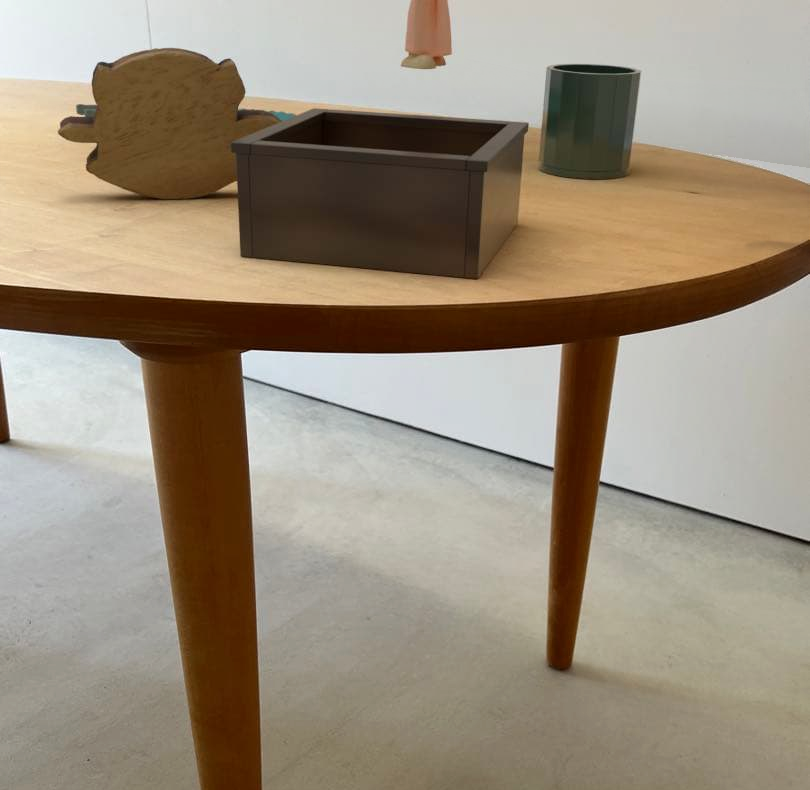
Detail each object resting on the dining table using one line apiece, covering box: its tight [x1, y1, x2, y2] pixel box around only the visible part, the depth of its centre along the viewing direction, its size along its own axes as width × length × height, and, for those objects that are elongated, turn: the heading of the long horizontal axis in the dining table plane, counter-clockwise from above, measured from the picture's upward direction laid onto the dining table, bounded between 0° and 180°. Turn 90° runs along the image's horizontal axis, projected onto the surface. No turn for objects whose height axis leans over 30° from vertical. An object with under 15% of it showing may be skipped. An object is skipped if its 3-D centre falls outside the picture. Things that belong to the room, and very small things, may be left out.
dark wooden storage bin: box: [231, 107, 530, 280], centre depth 70 cm, size 15×15×7 cm
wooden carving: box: [57, 47, 282, 200], centre depth 79 cm, size 16×5×10 cm, turn 109°
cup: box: [538, 63, 642, 180], centre depth 92 cm, size 8×8×8 cm
